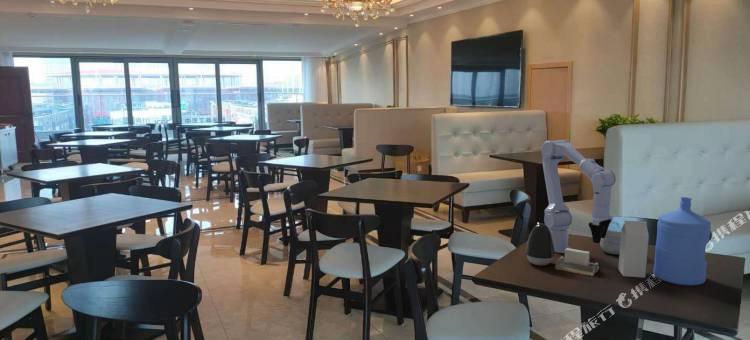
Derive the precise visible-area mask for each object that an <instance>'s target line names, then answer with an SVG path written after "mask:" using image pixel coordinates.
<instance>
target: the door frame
mask: <svg viewBox="0 0 750 340" xmlns="http://www.w3.org/2000/svg"><path fill="white" fill-rule="evenodd" d="M564 258H565V257H564V256H560V257H558V258H557V259H556V265H554V270H559V271H564V272H569V273H572V274H573V273H575V274H578V273H579V274H580V275H583V276H585V275H586V276H589V275H590V277H593V276H595V274H596V273H597V272H598V271H599V269H600V267H599V262H590V261H589V266H585V265H579V264H574V263H569V262H564ZM579 274H578V275H579Z"/></svg>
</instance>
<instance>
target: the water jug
mask: <svg viewBox="0 0 750 340" xmlns="http://www.w3.org/2000/svg"><path fill="white" fill-rule="evenodd" d="M692 200H693V199H692V198H691V197H686V196H683V197H682V196H681V197H680V203H679V209H676V210H673V211H669V212H666V213H663V214H660V215H659V216H658V219H657V220H658V221H657V225H656V228H657V232H656V242H655V246H654V248H655V250H654V251H655V253H654V254H655V256H654V266H653V272H652V273H653V275H654V276H655V277H656V278H658V279H659V280H660V281H663V282H666V283H670V284H675V285H678V286H679V285H680V286H700V285H703V284H704V283H705V282H706V277H707V274H706V273H707V264H708V262H707V260H706V259H705V257H706V248H707V244H708V243H709V242H710V235H711V230H712V228H711V224H712V223H711V221H710V220H709V219H707V218H706V217H703V216H702V215H700V214H698V213H696V212H694V211H692V209H691V205H692Z"/></svg>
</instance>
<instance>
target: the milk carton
mask: <svg viewBox="0 0 750 340" xmlns="http://www.w3.org/2000/svg"><path fill="white" fill-rule="evenodd" d="M647 224H648V222H647V221H641V220H640V221H638V220H637V221H636V220H624V224H623V225H622V227H621V230H620V232H621V241H620V254H619V255H618V266H617V268H618V271H619V272H620V274H621V275H622V276H623V277H629V278H631V277H632V278H645V279H646V274H647V273H646V271H647V262H648V261H647V260H648V248H649V238H650V237H649V231H648V227H647V226H648V225H647Z"/></svg>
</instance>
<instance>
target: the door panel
mask: <svg viewBox="0 0 750 340" xmlns="http://www.w3.org/2000/svg"><path fill="white" fill-rule="evenodd" d="M563 258H564V262H569V263H574V264H579V265H585V266H589V262H590V251H586V250H581V249H576V248H575V249H574V248H571V247H570V248H566V249H565V253H564V257H563Z"/></svg>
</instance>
